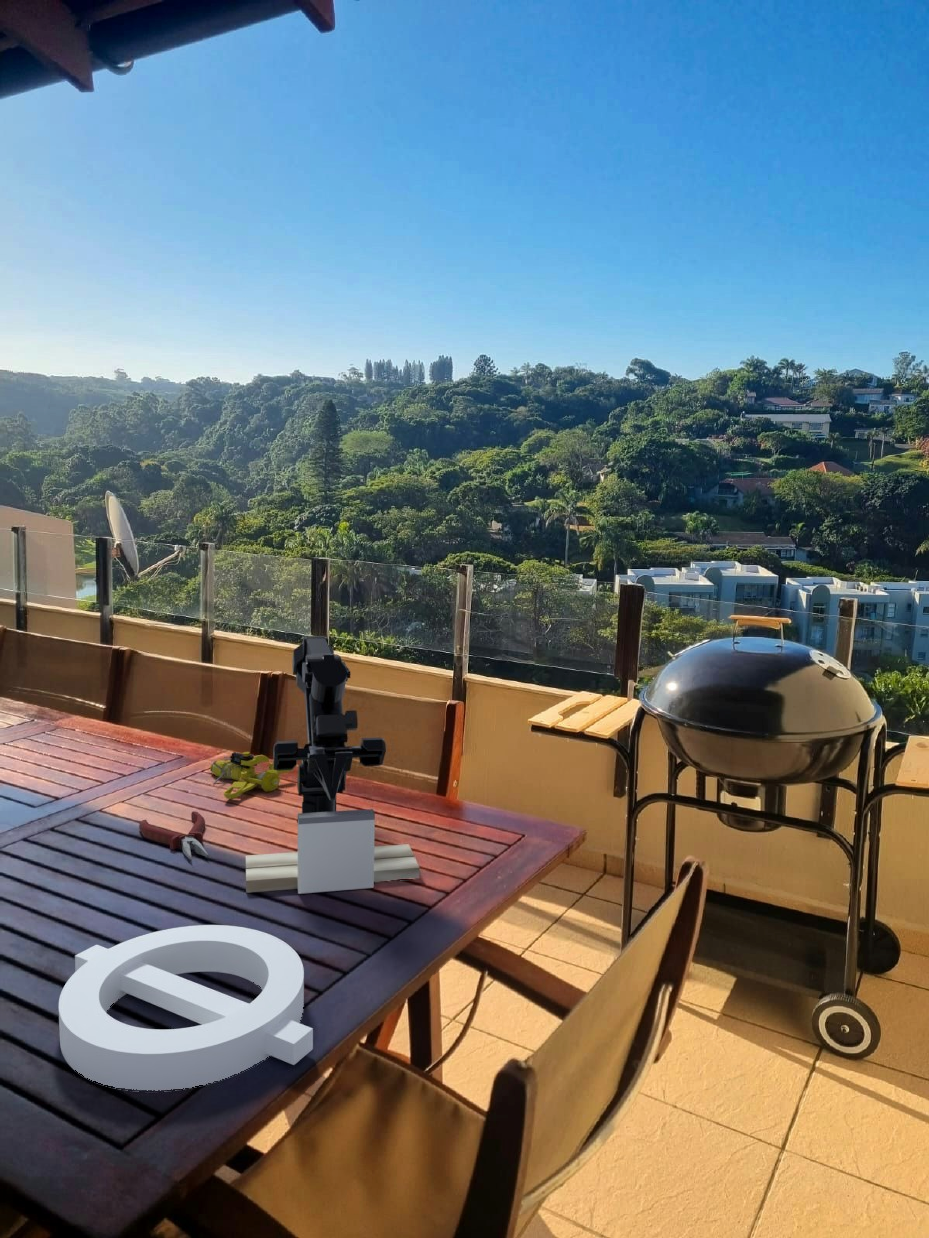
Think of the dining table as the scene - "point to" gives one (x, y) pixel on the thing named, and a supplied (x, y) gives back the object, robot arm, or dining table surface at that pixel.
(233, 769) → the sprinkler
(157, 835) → the pliers
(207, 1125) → the dining table surface
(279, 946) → the ring with crossbar
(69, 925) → the dining table surface
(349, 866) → the white square slab
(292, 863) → the laid plank
